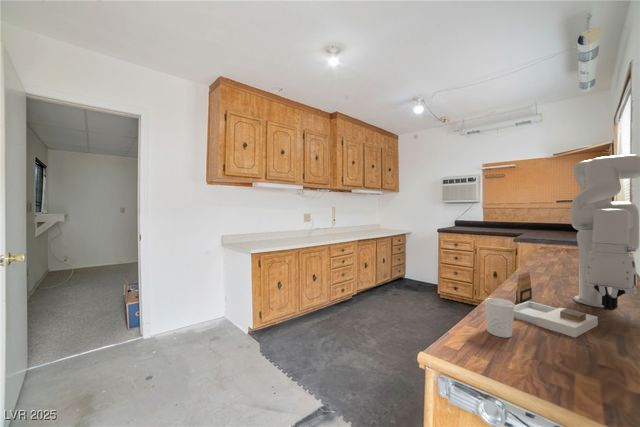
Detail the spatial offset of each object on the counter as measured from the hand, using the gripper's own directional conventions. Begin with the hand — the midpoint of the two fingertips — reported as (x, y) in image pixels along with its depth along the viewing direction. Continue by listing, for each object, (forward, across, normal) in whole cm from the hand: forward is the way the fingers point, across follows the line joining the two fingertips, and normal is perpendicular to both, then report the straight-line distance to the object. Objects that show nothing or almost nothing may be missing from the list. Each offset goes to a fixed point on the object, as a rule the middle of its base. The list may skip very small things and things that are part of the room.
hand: (609, 309), depth 82 cm
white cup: (+10, +18, +25) cm, 33 cm away
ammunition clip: (+9, +30, -17) cm, 36 cm away
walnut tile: (+6, +9, -1) cm, 11 cm away
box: (+9, +20, -1) cm, 22 cm away
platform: (+9, +10, -1) cm, 14 cm away
